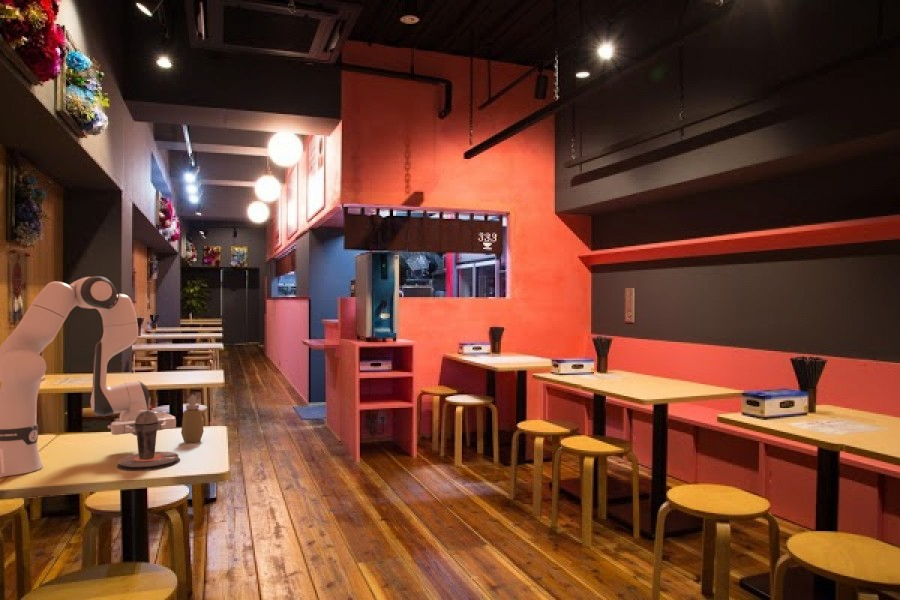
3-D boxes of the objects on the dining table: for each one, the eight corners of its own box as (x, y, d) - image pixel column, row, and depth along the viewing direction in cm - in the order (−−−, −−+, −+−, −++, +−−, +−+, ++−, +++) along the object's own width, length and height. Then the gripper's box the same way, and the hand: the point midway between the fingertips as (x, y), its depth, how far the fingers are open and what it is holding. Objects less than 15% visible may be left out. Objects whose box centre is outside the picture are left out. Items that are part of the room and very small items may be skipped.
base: (104, 470, 202) (104, 469, 202) (137, 456, 221) (137, 455, 221) (162, 471, 201) (162, 470, 201) (190, 456, 220) (190, 455, 220)
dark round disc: (107, 468, 202) (107, 464, 202) (138, 454, 220) (138, 450, 220) (161, 468, 201) (161, 464, 201) (188, 455, 219) (188, 451, 219)
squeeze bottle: (176, 443, 241) (176, 396, 241) (190, 438, 249) (190, 393, 249) (194, 444, 239) (194, 397, 239) (208, 440, 246) (208, 394, 247)
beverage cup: (129, 458, 209) (129, 398, 209) (148, 454, 215) (148, 395, 215) (144, 461, 206) (144, 399, 206) (163, 456, 212) (163, 396, 212)
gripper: (106, 416, 216) (113, 422, 205) (170, 410, 228) (180, 415, 217) (106, 435, 216) (113, 442, 205) (170, 427, 228) (180, 434, 217)
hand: (148, 428), depth 211 cm, fingers open, 8 cm apart
